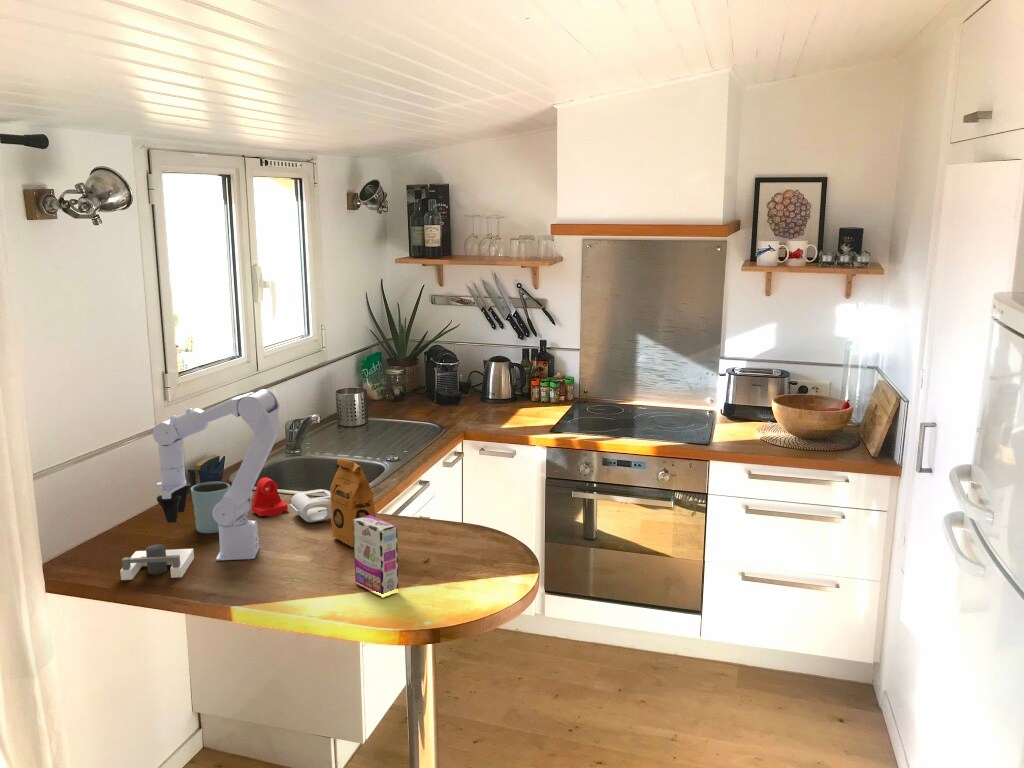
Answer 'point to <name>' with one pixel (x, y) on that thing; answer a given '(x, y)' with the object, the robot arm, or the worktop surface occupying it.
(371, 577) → the candy bar box
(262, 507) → the bracket
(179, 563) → the white frame with crossbar
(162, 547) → the grey rounded cylinder
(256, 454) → the robot arm
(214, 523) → the pale teal cup
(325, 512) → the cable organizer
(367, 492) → the coffee package
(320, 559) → the worktop surface
